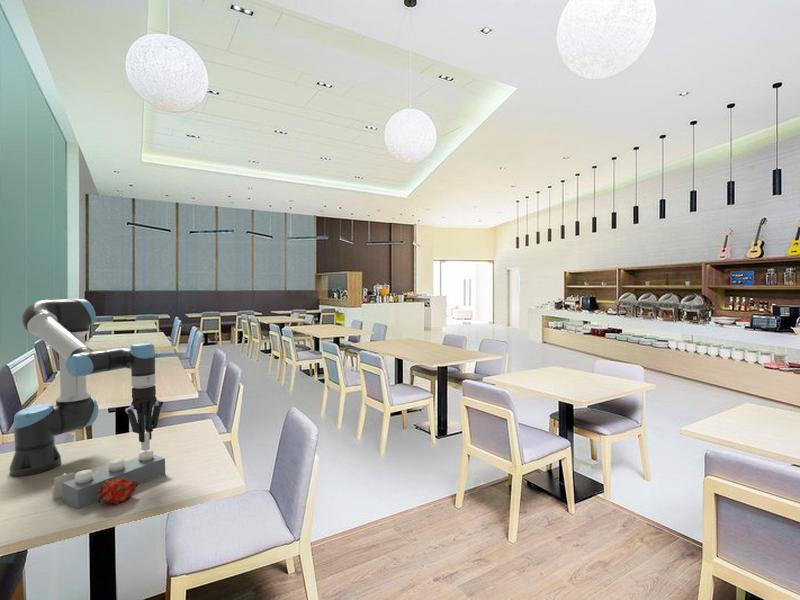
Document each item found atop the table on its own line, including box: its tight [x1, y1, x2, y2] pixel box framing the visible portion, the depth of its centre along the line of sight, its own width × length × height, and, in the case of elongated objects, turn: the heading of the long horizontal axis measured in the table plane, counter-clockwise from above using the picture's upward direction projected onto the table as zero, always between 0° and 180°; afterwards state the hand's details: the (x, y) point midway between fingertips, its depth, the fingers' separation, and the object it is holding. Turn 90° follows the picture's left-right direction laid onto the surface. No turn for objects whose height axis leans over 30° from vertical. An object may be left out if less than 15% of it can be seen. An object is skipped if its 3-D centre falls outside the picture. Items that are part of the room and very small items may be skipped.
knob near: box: [74, 469, 94, 485], centre depth 140 cm, size 5×5×8 cm
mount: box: [62, 453, 166, 509], centre depth 148 cm, size 10×28×6 cm, turn 150°
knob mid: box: [108, 458, 126, 473], centre depth 148 cm, size 5×5×8 cm
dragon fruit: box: [96, 477, 139, 505], centre depth 138 cm, size 8×8×12 cm
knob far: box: [138, 448, 154, 462], centre depth 157 cm, size 5×5×8 cm
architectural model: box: [51, 471, 75, 500], centre depth 144 cm, size 3×7×7 cm, turn 143°
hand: (145, 449), depth 157 cm, fingers closed
